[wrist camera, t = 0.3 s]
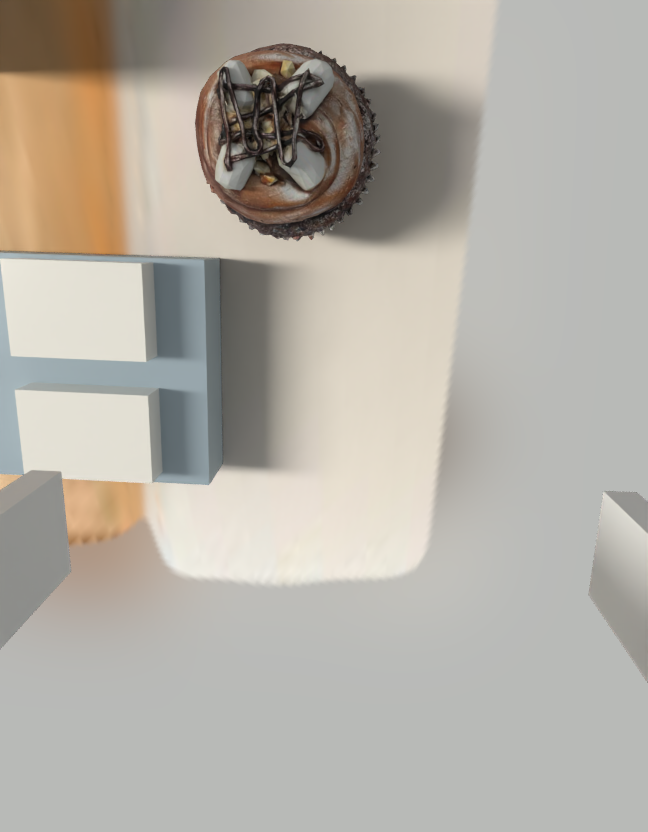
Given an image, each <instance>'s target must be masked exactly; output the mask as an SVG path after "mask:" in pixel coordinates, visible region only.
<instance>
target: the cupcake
mask: <svg viewBox="0 0 648 832" xmlns="http://www.w3.org/2000/svg"><path fill="white" fill-rule="evenodd" d="M355 80H356V76H355V75H354V76H351V77H350V76H348V74H347V73H346V66H345V65H344V66H342V67H340V66H339V65H338V64H337V63H336V59H335V58H334V59H330V58H329V57H327V56H325V55H323V54H322V52H321V51H320V52H319V53H317V52H315V51H313V50H311V48H307V47H302V46H298V45H293V44H276V45H272V46H267V47H262V48H259V49H256V50H254V51H252V52H250V53H245V54H242V55H238V56H235V57H233V58H232V59H230V60H228V61H226V62H225V63H224V64H223V65H222V66H221V67H220V68H219V69H218V70H216V71H215V72H214V73H213V74H212V75H211V76H210V77H209V79H208V81H207V82H206V84H205V86H204V87H203V89H202V91H201V92H200V97H199V101H198V106H197V111H196V121H195V126H196V138H197V147H198V152H199V157H200V161H201V166H202V170H203V172H204V175H205V178H206V180H207V184H210V188H211V192H212V193H216V194H217V196H218V197H219V198H220V199H221V200H220V201H221V203H223V204H225V205H226V207H227V208H228V210H229V211H230V212H231V214H237V215H238V216H239V220H240V222H243V223H247V224H248V225H249V229H251V230H253V229H255V228H256V229H257V230H258V231H259V233H260V235H272V236H274V237H275V238H277V239H279V238H283V239H284V240H289V238H290V237H292V238H293V239H295V240H296V241H299V240H300V238H301V237H302V236H308V237H309V238H310V239H311V240H312V239H313V238H314V232H315V231H318V232H319V233H320V234H321V235H324V230H325V227H327V226H328V227H329V228H330V230H333V229H334V222H335V221H338V223H341V222H343V216H344V214H345V212H346V213H347V215H348V216H349V215H351V214H352V204H354V203H356V204H358V205H361V204H362V200H361V198H360V197H359V195H360V193H365V194H368V193H369V191H368V189H367V187H365V185H364V184H365V182H371V181H374V180H375V178H374V177H373V176H372V175H371V174H370V171H371V170H374V169H376V168H378V163H375V162H373V161H371V159H372V158H373V157H375V156H376V155H378V154H379V153H381V152H380V150H379V149H374V148H373V147H374V145H375V144H376V143H377V142H378V141H380V135H379V136H376V135H375V134H374V133H375V130H377V129H378V126H379V124H376V123H373V122H374V120H375V117H376V114H375V113H374V112H372V111H371V110H370V108H369V106H370V102H371V99H365V98H364V96H365V88H358V87H357V85H356V84H355Z"/></svg>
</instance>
